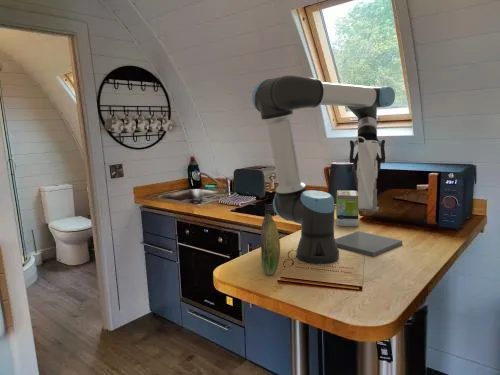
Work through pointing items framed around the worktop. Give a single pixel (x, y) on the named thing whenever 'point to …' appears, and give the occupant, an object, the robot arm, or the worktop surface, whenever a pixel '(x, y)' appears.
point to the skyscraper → (367, 176)
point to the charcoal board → (367, 243)
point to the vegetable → (269, 245)
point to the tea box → (347, 208)
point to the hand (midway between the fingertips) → (367, 176)
